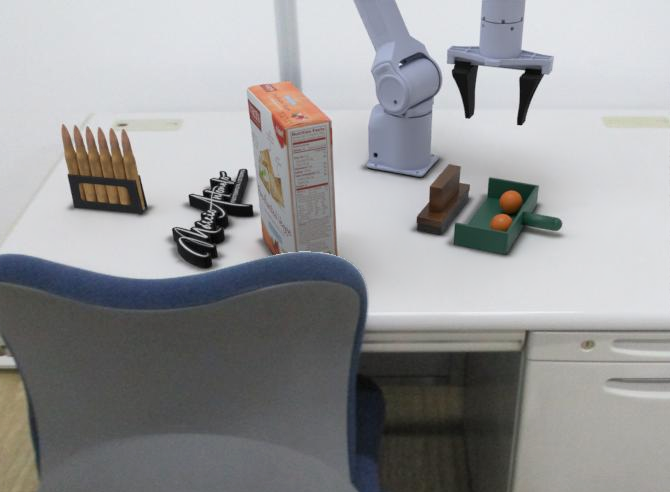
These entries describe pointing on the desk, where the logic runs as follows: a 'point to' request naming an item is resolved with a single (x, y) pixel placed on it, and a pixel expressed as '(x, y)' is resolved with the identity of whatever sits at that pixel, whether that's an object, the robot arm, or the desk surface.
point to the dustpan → (500, 241)
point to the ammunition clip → (103, 173)
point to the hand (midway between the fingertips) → (495, 119)
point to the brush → (443, 201)
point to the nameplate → (212, 218)
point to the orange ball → (511, 202)
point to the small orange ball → (501, 222)
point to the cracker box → (293, 169)
